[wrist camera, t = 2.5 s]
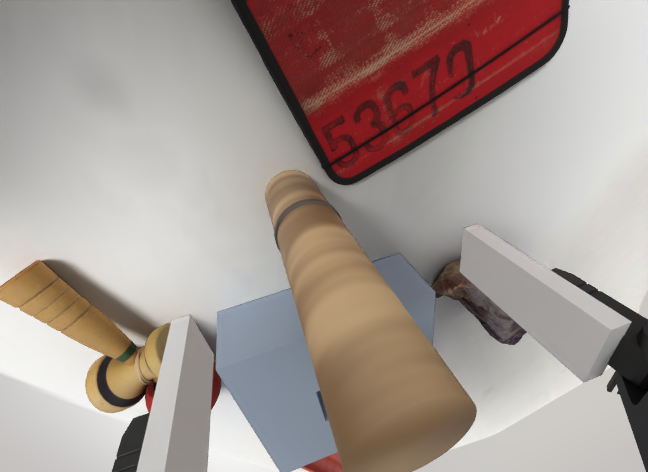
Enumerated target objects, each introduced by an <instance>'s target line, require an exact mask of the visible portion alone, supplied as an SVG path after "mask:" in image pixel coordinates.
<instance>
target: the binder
mask: <svg viewBox="0 0 648 472" xmlns="http://www.w3.org/2000/svg"><path fill="white" fill-rule="evenodd" d="M231 2H232V4H233V6H234V8H235V10H236V11H237V13H238V15H239V17H240V19H241V21H242V23H243V24H244V26H245V28H246V30H247V32H248V33H249V35H250V37H251V39H252V41H253V42H254V44H255V46H256V48H257V50H258V52H259V54H260V55H261V57H262V60H263V62H264V64H265V66H266V67H267V69H268V71H269V73H270V75H271V77H272V79H273V80H274V82H275V84H276V86H277V88H278V89H279V91H280V93H281V95H282V97H283V98H284V100H285V102H286V104H287V105H288V107H289V109H290V111H291V112H292V114H293V116H294V118H295V119H296V121H297V123H298V125H299V126H300V128H301V130H302V132H303V134H304V135H305V137H306V139H307V140H308V142H309V144H310V145H311V147H312V149H313V151H314V152H315V154H316V156H317V158H318V159H319V161H320V163H321V165H322V166H321V167H322V168H323V169H324V170H325V172H326V173H327V175H328V176H329V178H330V179H331V180H333V181H334V182H336V183H338V184H342V185H350V184H353V183H356V182H358V181H360V180H361V179H363V178H365V177H367V176H368V175H370V174H372V173H373V172H375V171H377V170H378V169H380V168H382V167H384V166H385V165H387V164H389V163H391V162H392V161H394V160H396V159H397V158H399V157H401V156H402V155H404V154H406V153H407V152H409V151H411V150H412V149H414V148H415V147H417V146H419V145H420V144H422V143H423V142H425V141H427V140H428V139H430V138H431V137H433V136H435V135H436V134H438V133H439V132H441V131H442V130H444V129H446V128H447V127H449V126H450V125H452V124H454V123H455V122H457V121H458V120H460V119H461V118H463V117H465V116H466V115H468V114H469V113H471V112H472V111H474V110H475V109H477V108H479V107H480V106H482V105H483V104H485V103H487V102H488V101H490V100H491V99H493V98H494V97H496V96H498V95H499V94H501V93H502V92H504V91H505V90H507V89H508V88H510V87H511V86H513V85H514V84H516V83H517V82H519V81H520V80H522V79H523V78H525V77H526V76H528V75H529V74H531V73H532V72H534V71H535V70H537V69H538V68H540V67H541V66H543V65H544V64H545V63H547V62H548V61H549V60H550V59H551V58H552V57H553V56H554V55H555V53H556V52H557V51H558V49H559V48H560V46H561V44H562V42H563V40H564V38H565V35H566V31H567V26H568V9H569V7H570V6H569V0H231Z"/></svg>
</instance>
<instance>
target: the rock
mask: <svg viewBox="0 0 648 472" xmlns="http://www.w3.org/2000/svg"><path fill="white" fill-rule="evenodd" d="M460 261H461V260H457V261H454V262H452V263H450V264H449V265H447V266H446V267H445V268H444V270H443V272H442V273H441V275H440V276H439V278H438V280H437V281H436V282H435V283H434V285H433V286H432V287H431V288H432V289H433V290H434V291H435V292H436V293H435V297H436V298H439V297H441V296H443V295H445V296H448V297H450V298H452V299H454V300H459V301H460V302H461V303H462V304H463V305H465V307H466V308H467V310H468V311H470V312H471V313H472V314H473V315H474V316H475V317H476V318H477V319H478V320H479V321H480V323H481V324H482V326H483V327H484V328H485V330H486V331H487V332H488V333H489V334H490V335H491V336H492V337H493V338H495V339H496V340H497V341H499V342H501V343H503V344H509V345H515V344H516V343H518V342H519V340H520V339H521V338H522V336H523V335H524V334H525V333H526V331H525V330H524V329H523V328H522V327H521V326H520V325H519V324H517V323H516V322H515V321H514V320H513V319H512V318H511V317H510V316H509V315H507V314H506V313H505V312H504V311H503V310H502V309H501V308H500V307H498V306H497V305H496V304H495V303H494V302H493V301H492V300H491V299H490V298H488V297H487V296H486V295H485V294H484V293H483V292H482V291H481V290H479V289H478V288H477V287H476V286H475V285H474V284H473V283H472V282H471V281H469V280H468V279H467V278H466V277H465V276H464V275H463V274H462V273H460Z"/></svg>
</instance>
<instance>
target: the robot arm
mask: <svg viewBox="0 0 648 472" xmlns="http://www.w3.org/2000/svg"><path fill="white" fill-rule="evenodd" d="M460 273H462V274H463V275H464V276H465V277H466V278H467V279H468V280H469V281H471V282H472V283H473V284H474V285H475V286H476V287H477V288H478V289H479V290H481V291H482V292H483V293H484V294H485V295H486V296H487V297H488V298H490V299H491V300H492V301H493V302H494V303H495V304H496V305H497V306H498V307H500V308H501V309H502V310H503V311H504V312H505V313H506V314H507V315H509V316H510V317H511V318H512V319H513V320H514V321H515V322H516V323H517V324H519V325H520V326H521V327H522V328H523V329H524V330H525V331H526V332H528V333H529V334H530V335H531V336H532V337H533V338H534V339H535V340H536V341H538V342H539V343H540V344H541V345H542V346H543V347H544V348H545V349H547V350H548V351H549V352H550V353H551V354H552V355H553V356H554V357H555V358H557V359H558V360H559V361H560V362H561V363H562V364H563V365H564V366H566V367H567V368H568V369H569V370H570V371H571V372H572V373H573V374H574V375H576V376H577V377H578V378H579V379H580V380H581V381H582V382H583V383H584V382H586V381H588V380H591V379H593V378H596V377H598V376H601V375H602V374H603V372H604V370H605V368H606V367H607V365H610V366H611V367H612V368H613V369H615V370H616V371H615V373H614V375H613V376H612V378H611V380H610V381H609V383H608V385H607V391H608V392H612V390H613V389H614V387H615V386H616V384H617V387H618V392H617V394H620V396H621V399H622V402H623V405H624V408H625V411H626V413H627V416H628V419H629V422H630V425H631V428H632V431H633V434H634V437H635V440H636V443H637V446H638V449H639V451H640V455H641V457H642V461H643V464H644V466H645V469H646V472H648V319H646V318H644V317H642V316H641V315H639V314H638V313H636V312H634V311H633V310H631V309H629V308H628V307H626V306H624V305H623V304H621V303H619V302H618V301H616V300H614V299H613V298H611V297H609V296H608V295H606V294H605V293H603V292H601V291H598V289H596V288H595V287H593V286H591V285H590V284H586V282H585V281H583V280H581V279H580V278H578V277H576V276H575V275H573V274H571V273H568V272H565V271H563V270H560V269H557V268H555V269H552V270H550V269H548V268H546V267H545V266H543V265H542V264H540V263H539V262H537V261H535V260H534V259H532V258H531V257H529V256H528V255H526V254H524V253H523V252H521V251H520V250H518V249H517V248H515V247H513V246H512V245H510V244H509V243H507V242H506V241H504V240H502V239H501V238H499V237H498V236H496V235H494V234H493V233H491V232H490V231H488V230H487V229H485V228H483V227H482V226H480V225H479V224H475V225H472V226H469V227H465V228H464V230H463V240H462V251H461V261H460ZM213 363H214V354H213V352H212V350H211V349H210V347H209V345H208V344H207V342H206V340H205V338H204V337H203V335H202V333H201V332H200V330H199V328H198V327H197V325H196V323H195V322H194V320H193V318H192V317H191V315H190V314H189V315H186V316H183V317H180V318H177V319H173V320H172V321H171V325H170V329H169V334H168V338H167V342H166V347H165V351H164V355H163V359H162V364H161V368H160V372H159V377H158V381H157V385H156V390H155V394H154V398H153V402H152V407H151V411H150V413H147V414H145V415H142V416H139V417H136V418H133V420H132V421H131V423H130V425H129V427H128V428H127V430H126V431H125V433H124V435H123V436H122V439H121V442H120V446H119V449H118V452H117V459H116V460H115V463H114V466H113V469H112V472H207V466H208V449H209V432H210V415H211V397H212V380H213Z"/></svg>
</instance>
